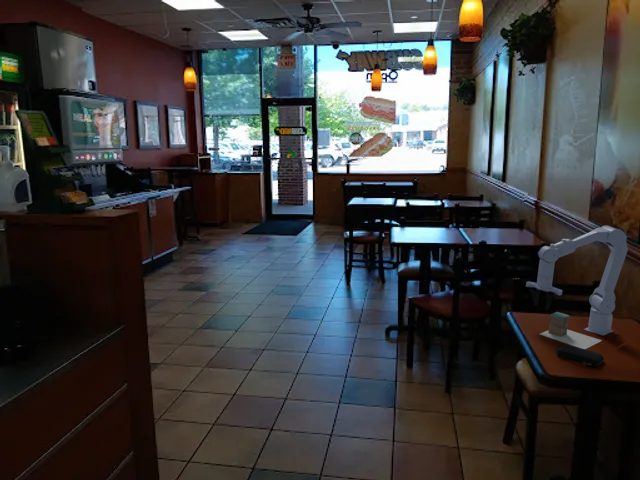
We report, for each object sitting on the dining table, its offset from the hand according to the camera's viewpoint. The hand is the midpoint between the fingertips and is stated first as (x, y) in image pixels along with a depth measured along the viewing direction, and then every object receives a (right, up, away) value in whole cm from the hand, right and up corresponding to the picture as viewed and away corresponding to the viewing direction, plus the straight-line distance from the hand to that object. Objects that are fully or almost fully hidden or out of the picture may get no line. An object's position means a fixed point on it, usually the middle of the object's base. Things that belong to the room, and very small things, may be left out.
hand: (541, 307), depth 210 cm
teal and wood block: (+5, -10, -4) cm, 12 cm away
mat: (+8, -12, -8) cm, 16 cm away
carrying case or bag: (+2, -16, -26) cm, 30 cm away
